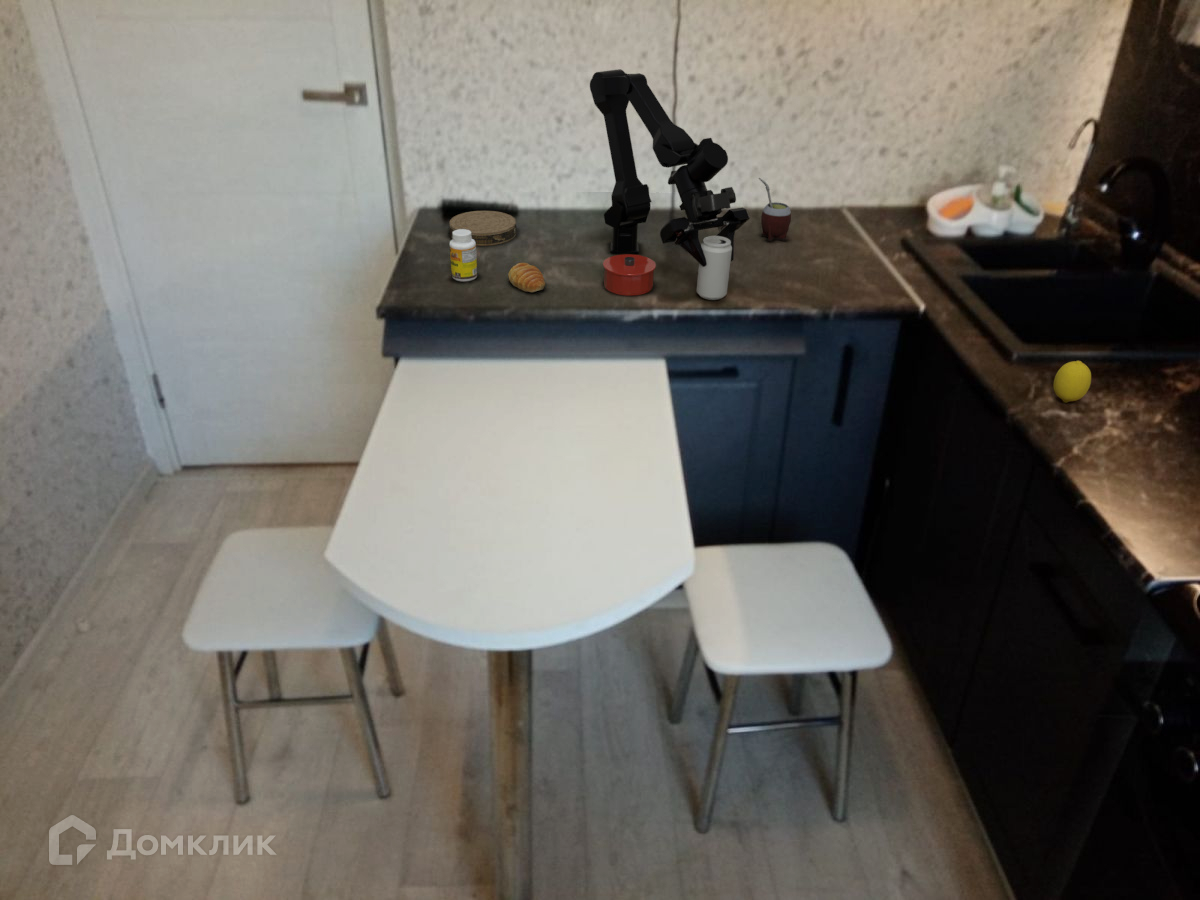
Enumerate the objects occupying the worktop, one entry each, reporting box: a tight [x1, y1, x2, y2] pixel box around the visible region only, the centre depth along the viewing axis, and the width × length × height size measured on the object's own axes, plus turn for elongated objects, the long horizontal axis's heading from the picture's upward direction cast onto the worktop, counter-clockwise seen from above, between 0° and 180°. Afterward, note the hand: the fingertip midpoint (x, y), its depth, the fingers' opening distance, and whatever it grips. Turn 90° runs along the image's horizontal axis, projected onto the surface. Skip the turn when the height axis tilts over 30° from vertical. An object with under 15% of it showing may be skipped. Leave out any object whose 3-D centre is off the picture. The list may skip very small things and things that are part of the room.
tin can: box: [449, 210, 517, 247], centre depth 219 cm, size 16×16×3 cm
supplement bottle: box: [448, 229, 478, 283], centre depth 195 cm, size 6×6×10 cm
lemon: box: [1052, 360, 1092, 403], centre depth 155 cm, size 6×6×8 cm
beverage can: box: [696, 235, 732, 301], centre depth 188 cm, size 6×6×12 cm
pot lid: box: [602, 253, 657, 276], centre depth 193 cm, size 11×11×2 cm
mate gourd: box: [758, 177, 792, 243], centre depth 217 cm, size 8×8×15 cm
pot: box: [603, 267, 655, 296], centre depth 194 cm, size 10×10×4 cm
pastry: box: [507, 262, 546, 293], centre depth 193 cm, size 9×7×4 cm
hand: (718, 263), depth 186 cm, fingers closed on beverage can, 6 cm apart
